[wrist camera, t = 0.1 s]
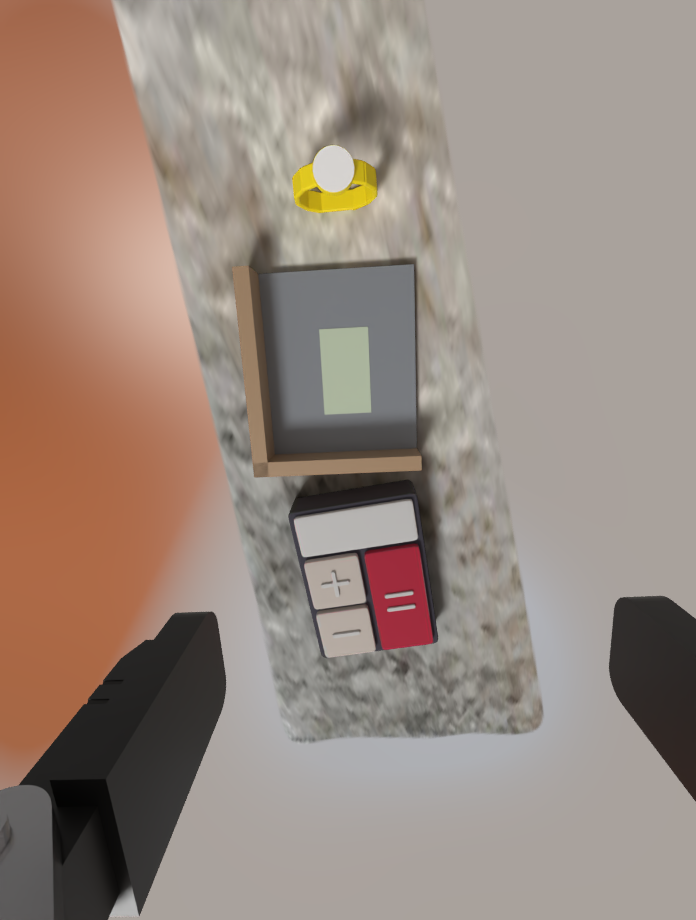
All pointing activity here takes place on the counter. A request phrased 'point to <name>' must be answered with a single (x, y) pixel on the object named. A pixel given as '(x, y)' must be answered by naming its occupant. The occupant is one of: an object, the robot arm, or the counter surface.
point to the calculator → (365, 568)
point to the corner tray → (329, 369)
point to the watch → (334, 182)
